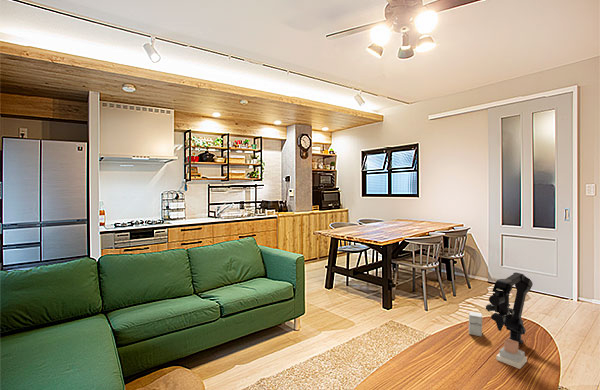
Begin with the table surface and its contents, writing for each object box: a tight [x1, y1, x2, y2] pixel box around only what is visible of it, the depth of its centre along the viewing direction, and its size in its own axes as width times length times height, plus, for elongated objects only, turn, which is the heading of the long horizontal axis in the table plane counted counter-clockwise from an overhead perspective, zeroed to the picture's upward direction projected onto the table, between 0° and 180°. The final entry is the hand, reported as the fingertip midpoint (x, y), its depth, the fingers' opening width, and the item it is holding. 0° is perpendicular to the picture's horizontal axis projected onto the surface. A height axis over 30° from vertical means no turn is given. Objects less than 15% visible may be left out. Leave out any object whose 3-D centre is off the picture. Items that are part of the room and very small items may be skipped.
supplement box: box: [468, 310, 483, 337], centre depth 203 cm, size 7×7×13 cm
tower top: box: [498, 346, 526, 363], centre depth 172 cm, size 9×9×3 cm
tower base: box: [496, 353, 528, 370], centre depth 172 cm, size 11×11×3 cm
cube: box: [503, 338, 520, 354], centre depth 172 cm, size 5×5×5 cm
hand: (502, 328), depth 184 cm, fingers open, 9 cm apart
